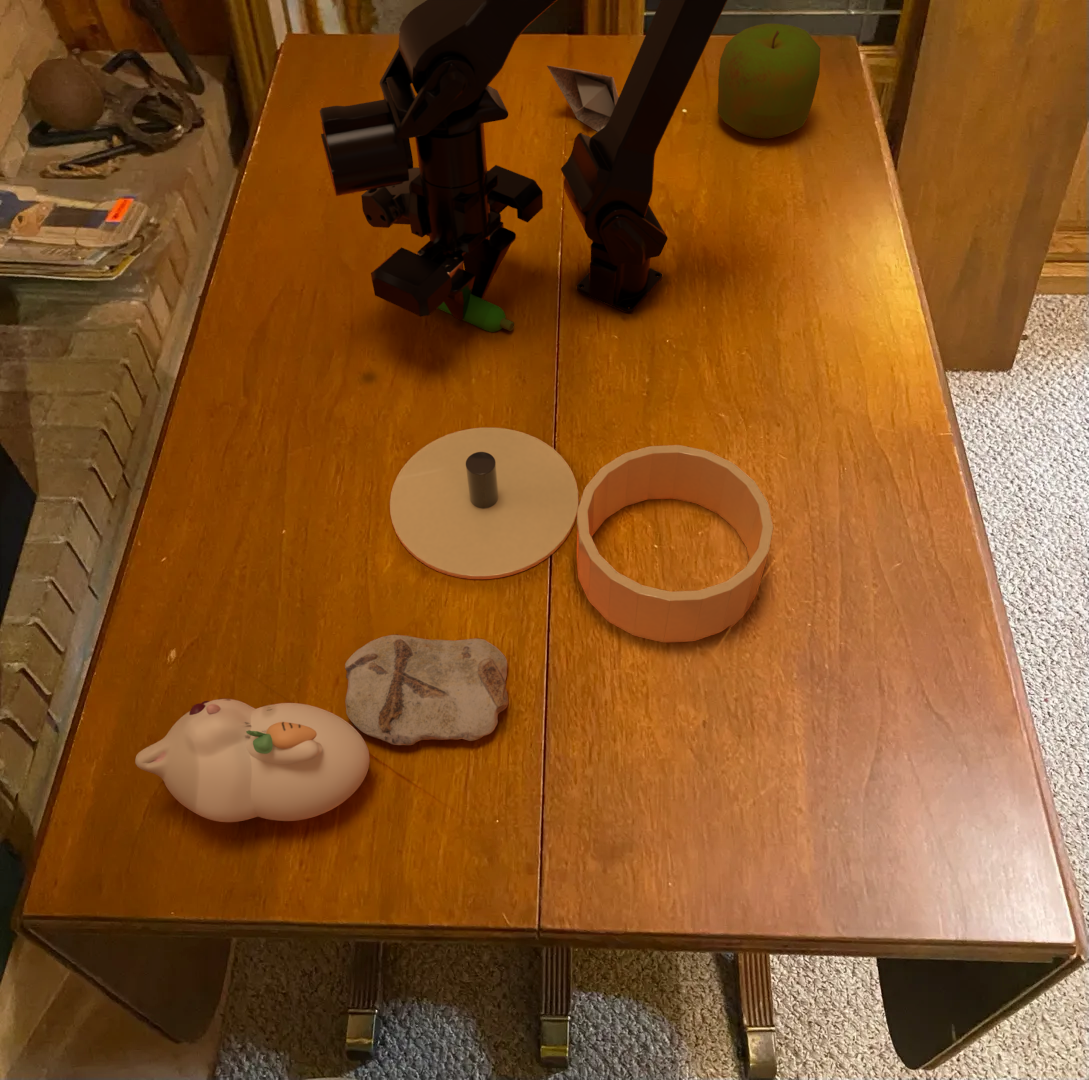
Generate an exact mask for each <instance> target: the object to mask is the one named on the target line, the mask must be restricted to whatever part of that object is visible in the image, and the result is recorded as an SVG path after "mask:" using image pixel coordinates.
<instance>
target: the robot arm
mask: <svg viewBox="0 0 1089 1080" xmlns="http://www.w3.org/2000/svg"><path fill="white" fill-rule="evenodd" d="M557 1H558V0H425V1H423V2H421V3H420V4H419V5H417V6H415V7H414V8H413V9H412V10H410V11H409V12H408V14H407V15H406V16H405V17H404V18H403V20H402V22H401V23H400V26H399V29H398V32H399V33H398V48H397V49H396V51H395V53H394V55H393V57H392V59H391V60H390V62H389V64H388V66H387V68H386V69H385V71H384V73H383V75H382V77H381V79H380V80H379V86H380V90H381V92H382V96H383V99H380V100H373V101H367V102H363V103H356V104H351V105H332V106H326V107H325V106H324V107H321V108H320V109H319V115H320V120H321V129H322V133H320V137H321V142H322V146H323V151H324V155H325V158H326V162H327V167H328V172H329V176H330V179H331V184H332V186H333V187H332V188H333V191H334V193H335V196H336V197H339V196H345V195H349V194H350V195H351V194H355V193H361V192H363V193H362V194H361V195H360V196H361V207H362V208H361V209H362V213H363V215H364V217H365V219H366V221H367V223H368V224H369V225H370V226H371V227H373V228H384V229H385V228H386V229H389V228H390V227H391V226H393V225H410V232H411V234H413V235H415V236H417V237H420V238H424V237H425V236H427V237H429V241H428V242H426V243H425V244H424V245H423V246H422V247H421V248H419V250H417V252H413V251H411V250H409V249H406V248H404V247H403V246H402V247H400V248H398V249H397V250H396V251H394V252H393V253H392V254H391V255H390V256H388V258H386V259H385V260H384V261H383V262H382V263H380V264H379V265H378V266H377V267H376V268H375V269H374V270H373V271H372V272H370V277H371V283H372V288H373V292H374V296H375V297H377V298H379V299H382V300H384V301H386V302H388V303H390V304H392V305H394V306H396V307H399V308H401V309H403V310H405V311H407V312H409V313H411V314H414V315H416V316H418V317H428V316H431V314H433V313H434V312H435V311H436V310H437V309H438V307H439V306H440V305H441V304H442V303H443V302H444V303H445V304H446V306H447V307H448V309H449V311H450V312H451V314H452V315H451V314H450V315H451V316H452V317H453V318H455V319H457V320H459V321H464V320H463V319H464V317H465V314H466V311H467V308H468V304H469V300H470V296H471V294H472V295H475V296H477V297H479V298H481V299H483V300H484V297H485V295H486V294H487V291H488V289H489V288H490V285H491V284H492V281H493V279H494V278H495V276H496V273H497V271H498V270H499V268H500V266H501V264H502V262H503V260H504V258H505V257H506V255H507V253H508V251H509V249H510V247H511V245H512V244H513V243H514V242H515V241H516V238H517V234H516V232H515V231H513V230H511V229H508V228H505V226H504V222H503V221H502V216H501V213H502V212H503V211H504V210H505V209H506V208H507V207H510V208H513V209H515V210H516V217H517V219H518V220H521V221H522V222H525V223H529V222H530V221H531V220H532V219H534V217H535V216H537V214H539V212H541V211H542V210H543V209H544V201H543V200H544V199H543V197H544V195H543V190H542V188H541V186H540V185H539V184H538V183H537V181H536V179H533V178H530V177H528V176H525V175H522V174H520V173H518V172H515V171H512V170H510V169H507V168H505V167H502V166H500V165H497V164H495V165H494V166H492V167H491V168H490V169H488V165H487V151H486V150H487V149H486V137H485V125H484V124H486V123H487V124H488V123H492V122H499V121H503V120H506V119H508V117H509V112H508V109H507V107H506V105H505V103H504V101H503V99H502V96H501V94H500V93H499V91H498V89H495V88H493V87H492V86H490V84H491V82H493V81H494V79H495V78H496V77H497V75H499V73H500V72H501V71H502V69H503V68H504V65H505V63H506V61H507V59H508V57H509V55H510V53H511V51H512V49H513V47H514V45H515V43H516V41H517V39H518V38H519V37H520V36H521V34H522V33H523V32H524V31H525V30H526V28H528V27H529V26H530V25H532V23H533V22H534V21H536V20H537V19H538V18H539V17H540V16H541V15H542V14H544V13H545V12H546V11H547V10H548V9H549V8H550V7H552V5H554V4H555V3H556V2H557ZM658 3H659V4H658V6H657V8H656V10H655V13H654V14H653V17H652V19H651V21H650V24H649V26H648V29H647V31H646V32H645V33H646V34H645V35H644V38H643V40H642V43H641V45H640V48H639V49H638V52H637V54H636V56H635V59H634V61H633V64H632V66H631V69H630V71H629V72H628V75H627V78H626V80H625V82H624V84H623V87H622V89H621V92H620V94H619V95H618V97H619V98H618V101H617V103H616V105H615V108H614V110H613V112H612V115H611V117H610V119H609V121H608V123H607V124H606V126H605V127H604V128H602V129H601V130H600V131H598V132H597V131H596V133H594V134H593V135H592V136H589V135H587V134H583V133H581V132H579V133H577V135H576V136H575V138H574V141H573V146H572V150H571V152H570V155H569V157H568V159H567V160H566V162H565V163H564V164H563V166H562V167H561V168H560V171H561V173H562V175H563V176H564V179H563V189H564V192H565V194H566V197H567V199H568V200H569V202H570V204H571V207H572V208H573V210H574V213H575V214H576V217H577V219H578V220H579V222H580V224H581V226H582V229H583V230H584V232H585V234H586V236H587V238H588V239H589V240H591V244H590V260H589V261H590V262H589V272H588V273H586V275H585V276H583V278H582V279H580V280H579V282H578V283H577V284H576V291H577V293H578V292H579V293H580V294H582V295H585V296H587V297H589V298H592V299H594V300H597V301H599V302H601V303H603V304H606V305H608V306H610V307H613V308H615V309H617V310H620V311H621V312H624V313H626V314H631V313H634V311H636V309H637V308H638V307H639V306H640V305H641V303H643V301H644V300H645V299H646V298H647V297H648V296H649V295H650V294H651V292H652V291H653V290H654V289H655V288H656V287H657V286H658V285H659V283H661V282H662V281H663V273H662V272H661V271H658V270H656V269H652V268H651V259H653V258H657V257H660V256H661V254H662V252H663V250H664V248H665V246H666V244H667V242H668V239H669V238H668V236H667V233H666V232H665V230H664V228H663V227H662V225H661V223H660V221H659V220H658V218H657V216H656V214H655V213H654V212H653V210H652V208H651V206H650V201H651V198H652V195H653V188H654V173H655V158H656V153H657V149H658V148H659V145H660V144H661V141H662V139H663V137H664V135H665V132H666V131H667V129H668V127H669V124H670V122H671V121H672V118H673V117H674V114H675V111H676V109H677V107H678V105H679V104H680V102H681V99H682V97H683V95H684V94H685V91H686V89H687V87H688V85H689V82H690V80H691V78H692V76H693V74H694V71H696V68H697V65H698V64H699V62H700V59H701V57H702V55H703V53H704V51H705V49H706V47H707V45H708V42H709V40H710V39H711V36H712V34H713V32H714V30H715V28H716V26H717V24H718V21H719V19H720V18H721V15H722V13H723V11H724V9H725V7H726V5H727V3H728V0H660V1H659V2H658ZM414 91H415V92H414ZM416 94H417V95H416ZM413 138H414V140H415V147H416V148H415V149H416V155H417V162H418V163H417V164H418V167H414V158H413V152H412V148H411V140H410V139H413Z"/></svg>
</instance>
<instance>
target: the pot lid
mask: <svg viewBox="0 0 1089 1080" xmlns="http://www.w3.org/2000/svg"><path fill="white" fill-rule="evenodd" d="M389 498H390V499H389V514H390V519H391V523H392V528H393V529H394V532H395V534H396V536H397V538H398V540H399V542H400V543H401V545H402V546H403V547H404V548H405V549H406V551H407V552H408V553H409V554H410V555H412V556H413V557H414V558H415V559H416V560H417V561H418V562H420V563H422V564H423V565H425V566H426V567H428V568H430V569H432V570H435V571H436V572H439V573H442V574H443V575H447V576H450V577H456V578H460V579H468V580H490V579H500V578H505V577H510V576H513V575H516V574H519V573H522V572H525V571H527V570H529V569H531V568H533V567H535V566H537V565H539V564H540V563H542V562H543V561H545V560H546V559H548V558H549V557H551V556H552V555H553V554H554V553H555V552H556V551H558V549H559V548H560V547H561V546H562V545H563V543H564V542H565V541H566V539H567V538H568V537H569V535H570V534H571V531H572V529H573V528H574V525H575V522H576V521H577V510H578V507H579V504H580V501H579V489H578V483H577V480H576V478H575V475H574V472H573V471H572V469H571V467H570V466H569V463H568V462H566V460H565V459H564V457H563V456H562V455H561V454H560V453H559V452H558V451H557V450H556V449H555V448H553V447H552V446H551V445H550V444H548V443H546V442H544V441H543V440H541V439H540V438H537V437H536V436H533V435H531V434H528V433H526V432H522V431H519V430H515V429H511V428H504V427H494V426H493V427H487V426H486V427H485V426H484V427H483V426H481V427H474V428H467V429H462V430H457V431H453V432H451V433H448V434H445V435H443V436H441V437H439V438H437V439H435V440H433V441H431V442H429V443H428V444H426V445H424V446H423V447H421V448H420V449H419V450H418V451H416V452H415V453H414V454H413V455H412V456H411V457H410V458H409V459H408V460H407V461H406V462H405V464H404V465H403V466H402V468H401V469H400V471H399V473H398V474H397V476H396V477H395V480H394V483H393V485H392V489H391V492H390V497H389Z"/></svg>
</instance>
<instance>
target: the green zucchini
mask: <svg viewBox="0 0 1089 1080" xmlns="http://www.w3.org/2000/svg"><path fill="white" fill-rule="evenodd" d="M437 309H438V310H440V311H443V312H445V313H447V314H449V315H451V316H453V315H452V314H451V312H450V311H449V309H448V307H447V306H446V304H445V303H444V302H443V303H442V304H441V305H440V306H439V307H438V308H437ZM462 321H464V322H467V323H469V324H471V325H472V326H475V327H477V328H478V329H479V328H480V329H482V330H483V331H485V332H489V333H496V332H500V331H501V330H502V329H504V330H506V331H508V332H511V331H513V330H514V327H515V322H514V321H512V320H510V319H507V315H506V312H505V311H504V309H503V308H502V307H500V306H499V305H497V304H494V303H492V302H490V301H488V300H486V299H484V298H483V299H481V298H479V297H477V296H475V295H472V294H471V296H470V300H469V304H468V308H467V311H466V314H465V317H464V319H463V320H462Z"/></svg>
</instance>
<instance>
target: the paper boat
mask: <svg viewBox="0 0 1089 1080" xmlns="http://www.w3.org/2000/svg"><path fill="white" fill-rule="evenodd" d="M546 67H547V69H548V70H549V73H550V74H551V76H552V77H553V79H554V81H555V83H556V84H557V86H558V88H559V90H560V91H561V93H562V95H563V97H564V98H565V100H566V102H567V103H568V105H569V107H570V108H571V111H572V112H573V114H574V116H575V118H576V119H577V121H580V122H581V123H583V124H584V125H586V126H587V127H589V128H591V129H592V130H594V131H596V133H597V132H598V131H600V130H601V129H602V128H604V127H605V126H606V124H607V123H608V121H609V119H610V117H611V115H612V112H613V110H614V108H615V105H616V103H617V101H618V98H619V94H618V89H617V86H616V82H615V78H614V76H610V75H606V74H602V73H601V74H600V73H596V72H592V71H586V70H583V69H582V70H581V69H576V68H570V67H561V66H555V65H546Z"/></svg>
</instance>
